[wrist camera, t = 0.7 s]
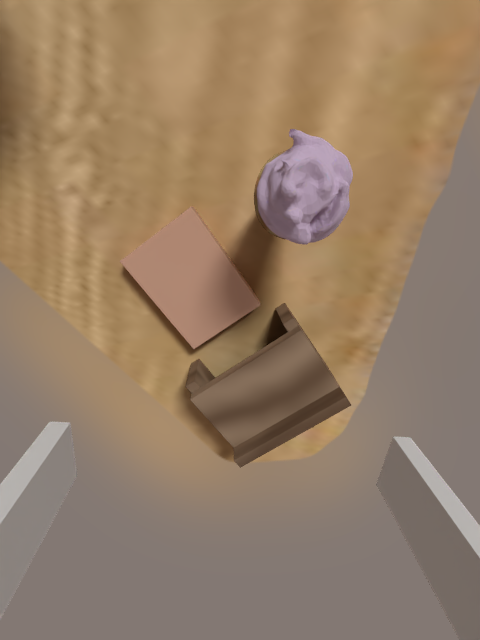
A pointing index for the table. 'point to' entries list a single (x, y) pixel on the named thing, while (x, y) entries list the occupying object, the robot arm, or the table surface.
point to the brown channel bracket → (268, 393)
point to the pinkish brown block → (191, 278)
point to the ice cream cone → (303, 190)
